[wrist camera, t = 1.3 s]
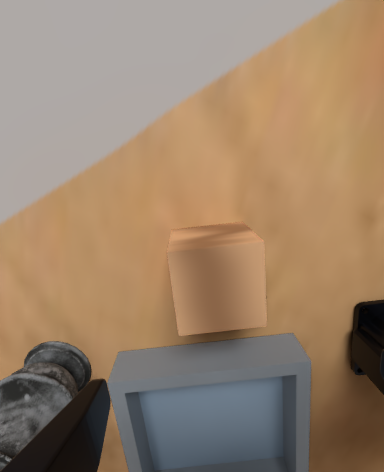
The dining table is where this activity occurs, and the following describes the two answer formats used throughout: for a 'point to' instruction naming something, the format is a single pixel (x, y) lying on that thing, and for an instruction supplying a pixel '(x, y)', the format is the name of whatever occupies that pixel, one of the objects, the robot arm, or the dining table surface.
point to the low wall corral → (215, 406)
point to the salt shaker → (38, 393)
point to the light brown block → (217, 278)
